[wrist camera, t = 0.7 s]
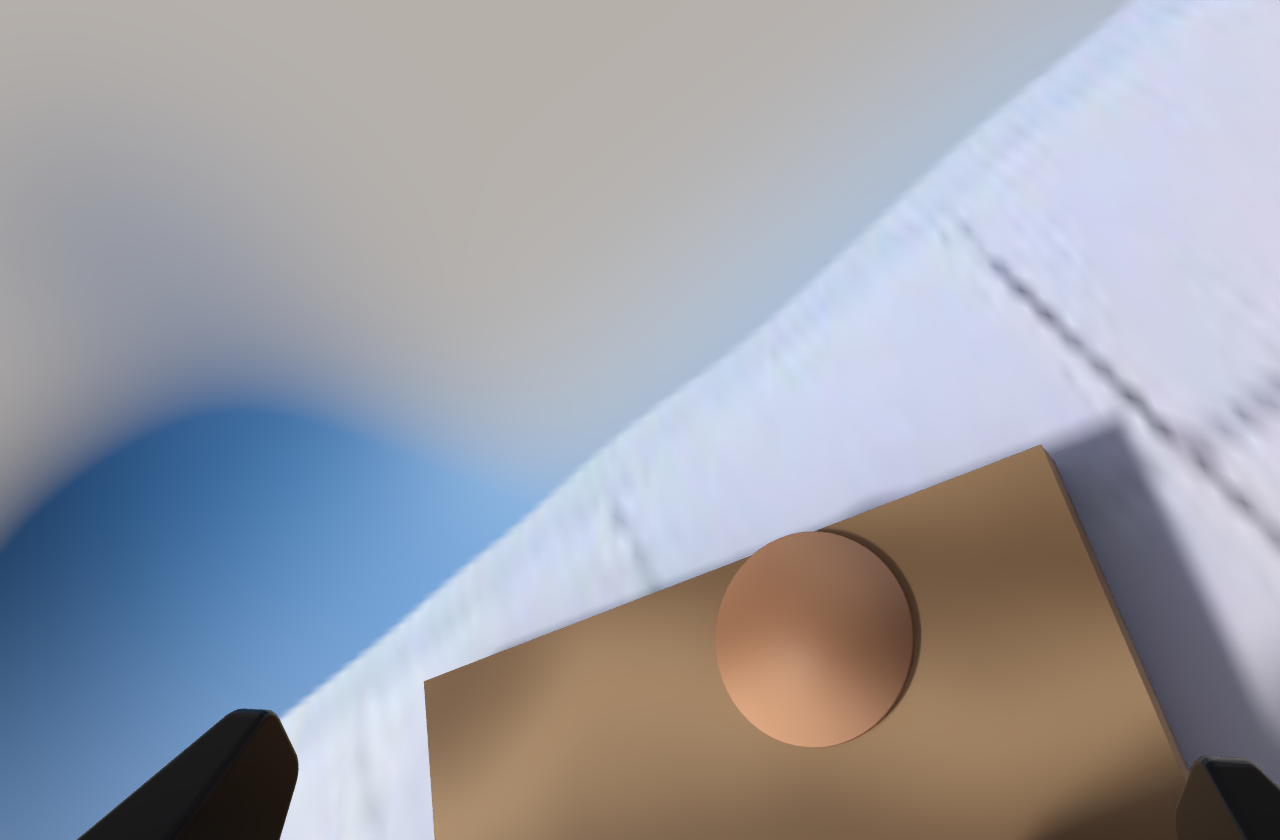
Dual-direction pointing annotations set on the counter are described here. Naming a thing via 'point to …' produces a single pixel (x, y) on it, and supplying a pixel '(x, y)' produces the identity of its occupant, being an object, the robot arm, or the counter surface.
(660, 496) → the counter surface
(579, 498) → the counter surface
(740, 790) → the board
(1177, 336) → the counter surface
